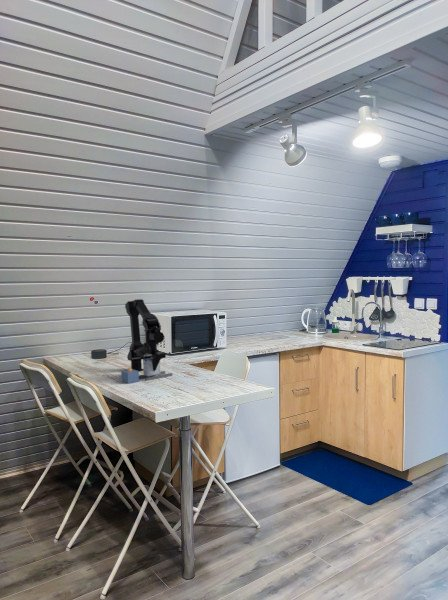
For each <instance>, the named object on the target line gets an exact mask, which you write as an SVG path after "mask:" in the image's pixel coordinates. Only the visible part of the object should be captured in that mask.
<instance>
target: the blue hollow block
mask: <svg viewBox="0 0 448 600" xmlns="http://www.w3.org/2000/svg"><path fill="white" fill-rule="evenodd" d="M120 372H121V373H120V375H121V376H120V377H121V382H122V383H125V384H129V385H130V384H134V383H138V382H140V378H139V373H140V371H137V370H134V369H132V371H130V372H128V369H125V370H124V369H123V370H121V371H120Z"/></svg>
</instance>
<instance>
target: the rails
mask: <svg viewBox="0 0 448 600" xmlns="http://www.w3.org/2000/svg"><path fill="white" fill-rule="evenodd" d="M172 375H173V372H172V373H171V372H169V373H166V371H165V370H163V371H161V370H160V374H158V375H152V376H145V375H144V374H141V375H139V379H143V378H144V381H151V380H156V379H162V378H167V377H172Z"/></svg>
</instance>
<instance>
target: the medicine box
mask: <svg viewBox="0 0 448 600" xmlns="http://www.w3.org/2000/svg"><path fill="white" fill-rule="evenodd" d="M142 361H143V362H142V369H143V370H142V371H143V375H145V376H150V377H152V375H155V376H157V375H158V374H160V372H161V361H160V362H159V364H158V366H157V368H156V370H155V371H153V365H152V361H151V360H150V358H148V359H142Z"/></svg>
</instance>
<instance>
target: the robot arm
mask: <svg viewBox="0 0 448 600" xmlns="http://www.w3.org/2000/svg"><path fill="white" fill-rule="evenodd" d="M124 305H125V306H124V307H125V310H126V314H127V315H128V316H129V323H130V332H131V343H130V345H129V351H128V353H127V361H130V366H131V367H130V369H134V370H137V371H139V372H140V371H143V362H142V360H143V359H148V358H150V360H151V361H152V365H153V371H155V370H156V368H157V366H158V364H159V362H160V363H161V360H162V359H166V358H167V356H166V355H167V354H166V353H165V352H163V351H159V349H158V347H157V346H158V345H159V343H162V342H163V341H164V339H165V335H164V333H163V332H161V330H162V326H161V323H160V321H159V318H158V317H157V316H156V315H155V314H153V313H151V311H150V310H149V309H148V307H147V306H146V304H145V301H144V299H142V298H141V299H140V298H139V299H133V300H130V301H129V300H128V301H126V302H125V304H124ZM139 316H141V318H142V326H143V328H144V332H145V342H144V343H142V342H141V331H140V320H139Z"/></svg>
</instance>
